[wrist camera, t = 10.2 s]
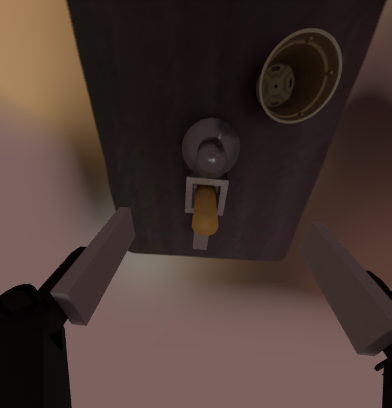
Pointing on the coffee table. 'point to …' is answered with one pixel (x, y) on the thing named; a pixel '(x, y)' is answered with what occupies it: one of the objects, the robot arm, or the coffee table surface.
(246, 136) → the coffee table surface
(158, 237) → the coffee table surface
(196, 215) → the tapered pin
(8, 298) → the robot arm
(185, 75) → the coffee table surface
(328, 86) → the flower pot
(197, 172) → the rosette bracket
